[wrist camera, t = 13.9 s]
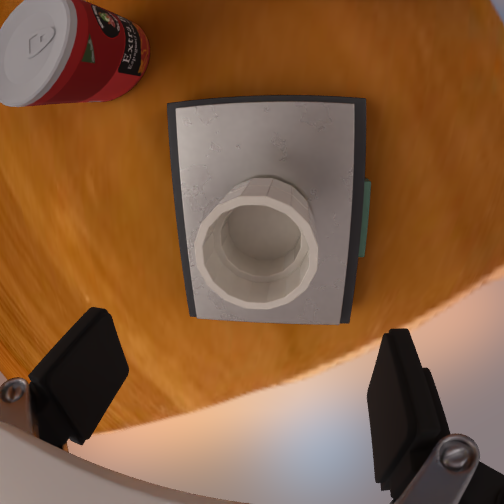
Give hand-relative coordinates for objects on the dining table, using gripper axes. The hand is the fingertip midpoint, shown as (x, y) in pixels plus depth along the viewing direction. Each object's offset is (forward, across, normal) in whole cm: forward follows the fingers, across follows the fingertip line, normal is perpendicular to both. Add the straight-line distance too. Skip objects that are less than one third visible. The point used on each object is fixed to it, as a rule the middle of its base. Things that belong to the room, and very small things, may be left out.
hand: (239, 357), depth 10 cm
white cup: (+14, +1, 0) cm, 14 cm away
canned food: (+17, +14, -14) cm, 26 cm away
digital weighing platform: (+14, +1, 0) cm, 14 cm away
